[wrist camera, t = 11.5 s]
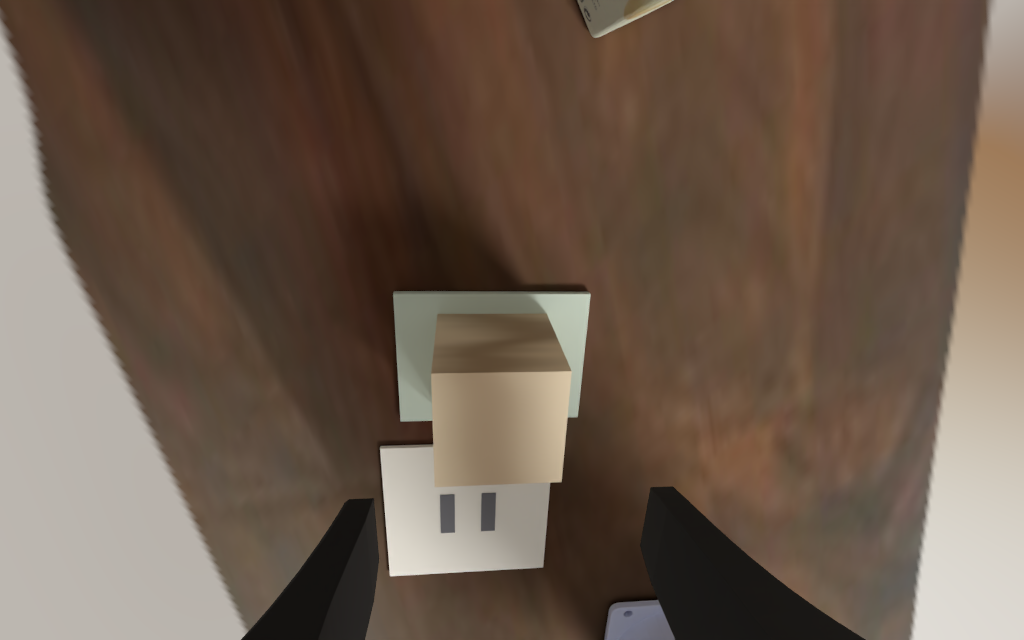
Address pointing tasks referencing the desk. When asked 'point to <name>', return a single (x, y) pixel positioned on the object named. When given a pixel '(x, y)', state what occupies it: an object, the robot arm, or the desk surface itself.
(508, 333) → the maple block
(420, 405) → the sage coaster
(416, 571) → the tile
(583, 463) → the desk surface
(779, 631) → the robot arm
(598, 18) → the skincare box
